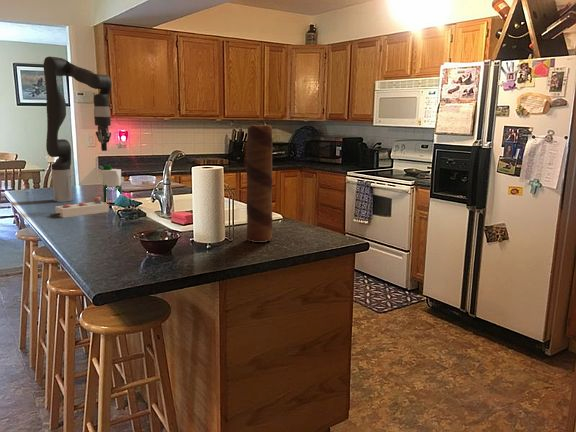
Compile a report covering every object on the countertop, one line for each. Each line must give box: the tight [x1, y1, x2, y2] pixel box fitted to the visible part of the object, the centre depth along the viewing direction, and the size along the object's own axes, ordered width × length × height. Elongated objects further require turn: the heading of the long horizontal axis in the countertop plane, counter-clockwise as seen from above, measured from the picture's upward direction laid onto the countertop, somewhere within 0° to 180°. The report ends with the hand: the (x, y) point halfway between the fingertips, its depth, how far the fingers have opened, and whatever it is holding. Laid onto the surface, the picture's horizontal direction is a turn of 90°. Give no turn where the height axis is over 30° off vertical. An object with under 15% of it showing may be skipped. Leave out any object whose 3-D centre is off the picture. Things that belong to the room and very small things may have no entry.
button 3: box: [93, 196, 102, 203], centre depth 236 cm, size 3×3×3 cm
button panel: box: [49, 201, 110, 218], centre depth 230 cm, size 9×26×5 cm, turn 136°
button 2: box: [78, 202, 87, 206], centre depth 231 cm, size 3×3×3 cm
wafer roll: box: [245, 124, 274, 241], centre depth 184 cm, size 10×11×45 cm
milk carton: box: [101, 164, 123, 202], centre depth 259 cm, size 9×9×20 cm
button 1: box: [62, 203, 71, 208], centre depth 226 cm, size 3×3×3 cm
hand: (104, 150), depth 242 cm, fingers closed
